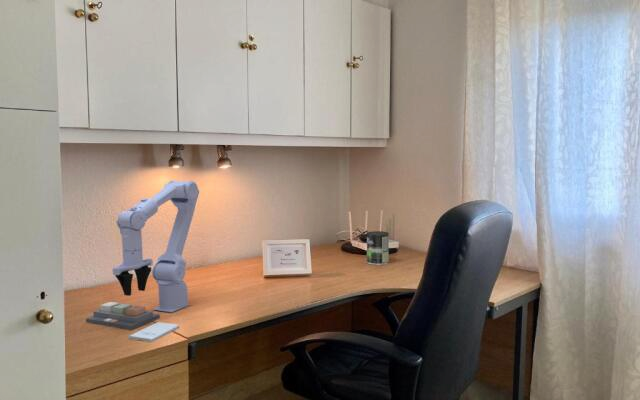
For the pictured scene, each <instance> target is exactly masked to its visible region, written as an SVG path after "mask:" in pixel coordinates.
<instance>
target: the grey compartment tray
mask: <svg viewBox="0 0 640 400" xmlns="http://www.w3.org/2000/svg"><path fill="white" fill-rule="evenodd" d="M145 312H146V313H144V314H142V315H139V316H137V317H134V316H128V315H126V314H123V315H121V314H115V313H113V312H110V313H109V312H102V311H101V308H99V309H97V310H93V315H92V316H90V317H86V318H85V319H86V320H85V322H86V323H88V324H89V323H90V324H94V325H100V326H101V325H102V326H106V327H113V328H118V329H123V330H130V331H133V330H135V329H137V328H140V327H142V326H145V325H147V324H149V323H152V322H154V321H156V320H159V319H160V318H161V315H160V314H159V313H153V311H150V310H145Z"/></svg>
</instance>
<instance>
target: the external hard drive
mask: <svg viewBox="0 0 640 400" xmlns="http://www.w3.org/2000/svg"><path fill="white" fill-rule="evenodd" d="M178 329H180V325H179V324H176V323H168V322H161V321H159V322H158V321H157V322H155V323H154V324H151V325H149V326H146V327H145V328H142V329H141V330H139V331H136V332H134V333H132V334H130V335H129V336H128V340H134V341H142V342H149V343H153V342H155V341H157V340H159V339H161V338H162V337H165V336H166V335H168V334H170V333H172V332H174V331H176V330H178Z"/></svg>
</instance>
